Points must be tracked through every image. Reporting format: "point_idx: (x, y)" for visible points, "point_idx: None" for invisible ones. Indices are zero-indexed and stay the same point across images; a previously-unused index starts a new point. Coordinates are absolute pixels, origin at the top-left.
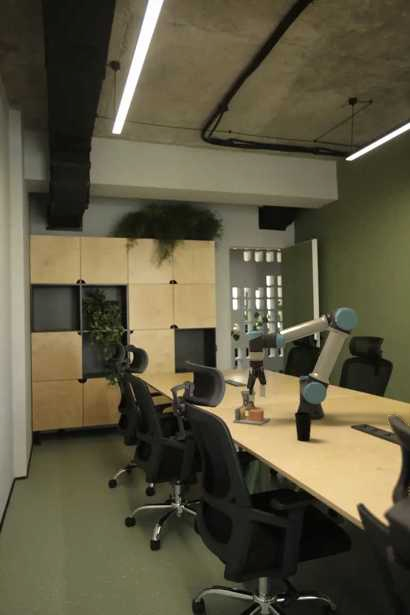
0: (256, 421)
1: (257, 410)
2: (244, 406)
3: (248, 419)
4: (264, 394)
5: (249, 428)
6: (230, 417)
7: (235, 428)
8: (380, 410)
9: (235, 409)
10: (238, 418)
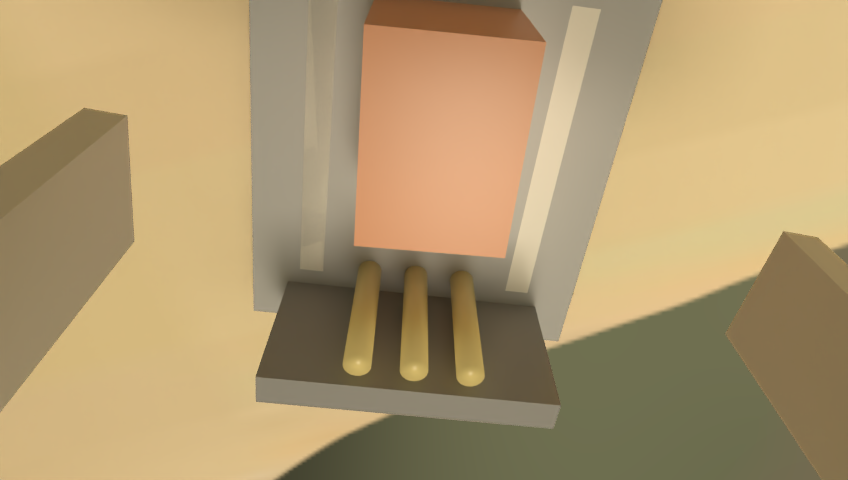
0: None
1: (418, 133)
2: (275, 372)
3: None
4: (80, 143)
5: (820, 89)
6: None
7: None
8: None
9: (553, 421)
10: (498, 313)
